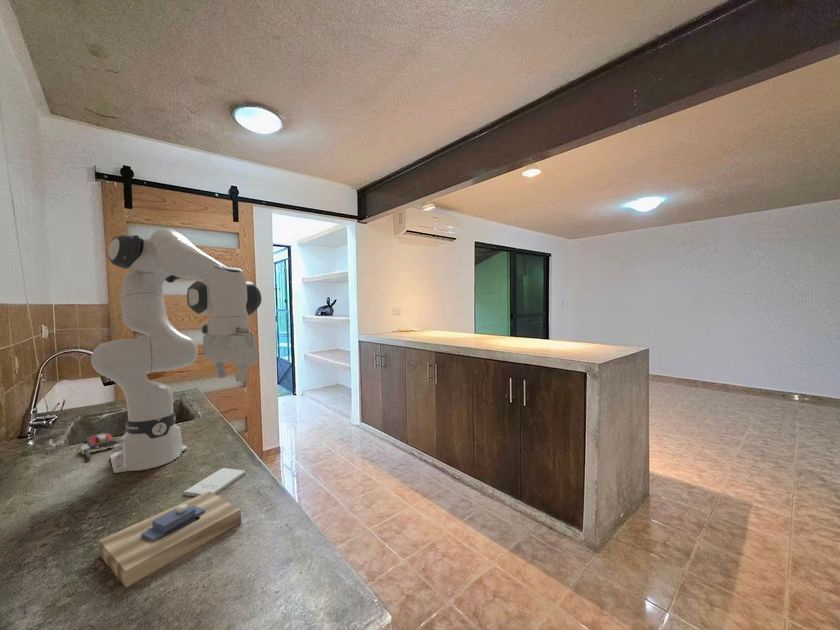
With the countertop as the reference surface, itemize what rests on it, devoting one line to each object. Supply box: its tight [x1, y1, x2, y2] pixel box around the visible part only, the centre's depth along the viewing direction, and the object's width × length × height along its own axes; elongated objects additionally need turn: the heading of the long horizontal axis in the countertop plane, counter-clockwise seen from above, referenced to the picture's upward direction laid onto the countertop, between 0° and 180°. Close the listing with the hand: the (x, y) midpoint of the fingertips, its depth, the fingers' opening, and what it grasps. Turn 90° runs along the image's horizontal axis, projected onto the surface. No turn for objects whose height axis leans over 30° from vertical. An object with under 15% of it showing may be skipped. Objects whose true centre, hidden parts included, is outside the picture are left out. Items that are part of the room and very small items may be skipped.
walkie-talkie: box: [79, 432, 118, 460], centre depth 113 cm, size 9×4×20 cm
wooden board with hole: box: [98, 491, 242, 588], centre depth 69 cm, size 14×20×3 cm
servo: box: [141, 504, 205, 542], centre depth 69 cm, size 4×10×6 cm, turn 156°
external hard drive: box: [182, 467, 247, 497], centre depth 90 cm, size 2×8×12 cm
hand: (230, 379), depth 87 cm, fingers open, 8 cm apart
